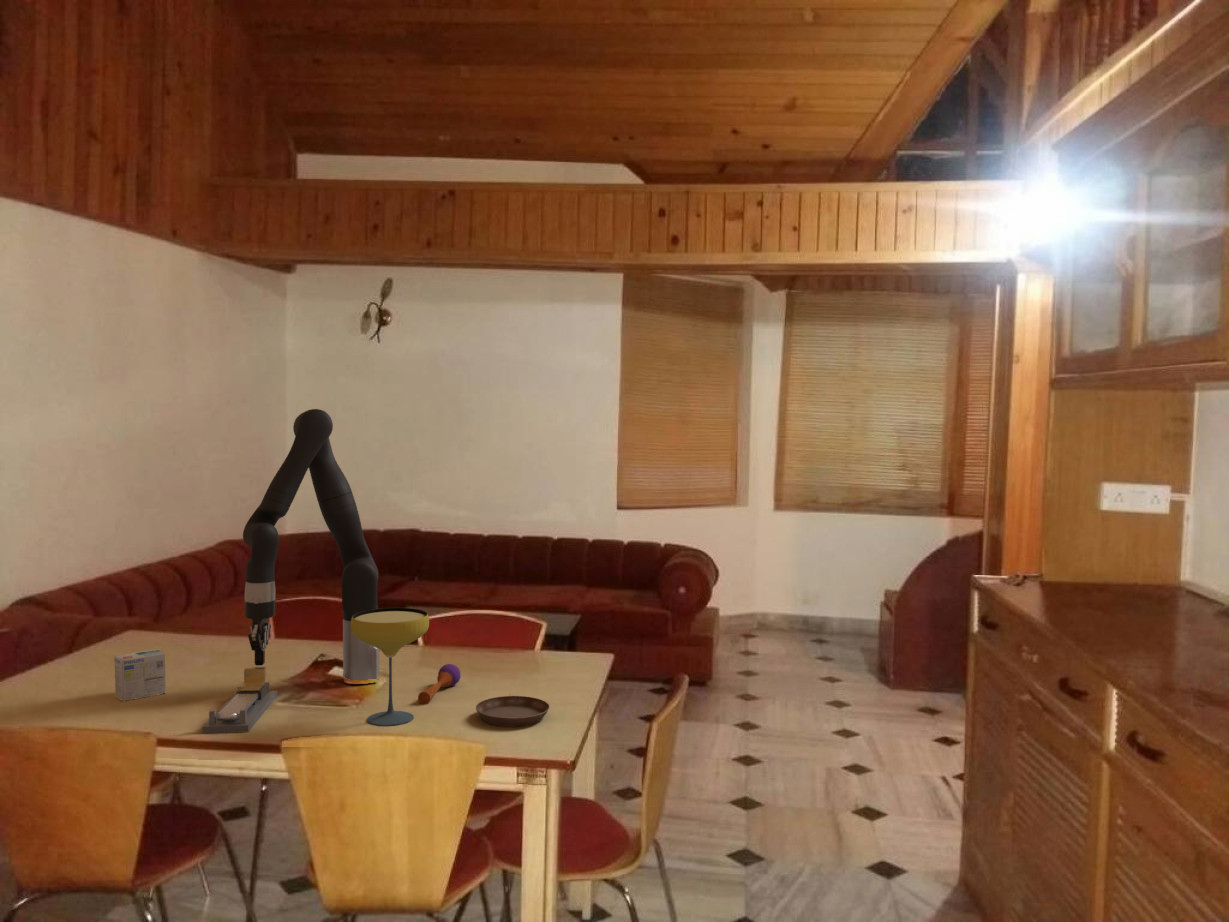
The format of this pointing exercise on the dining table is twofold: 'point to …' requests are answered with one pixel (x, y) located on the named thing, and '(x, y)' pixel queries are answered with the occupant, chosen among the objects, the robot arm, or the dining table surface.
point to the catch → (253, 679)
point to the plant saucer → (512, 710)
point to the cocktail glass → (390, 645)
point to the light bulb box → (140, 674)
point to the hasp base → (242, 713)
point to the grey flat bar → (236, 706)
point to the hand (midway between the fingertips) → (259, 664)
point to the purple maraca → (441, 682)
